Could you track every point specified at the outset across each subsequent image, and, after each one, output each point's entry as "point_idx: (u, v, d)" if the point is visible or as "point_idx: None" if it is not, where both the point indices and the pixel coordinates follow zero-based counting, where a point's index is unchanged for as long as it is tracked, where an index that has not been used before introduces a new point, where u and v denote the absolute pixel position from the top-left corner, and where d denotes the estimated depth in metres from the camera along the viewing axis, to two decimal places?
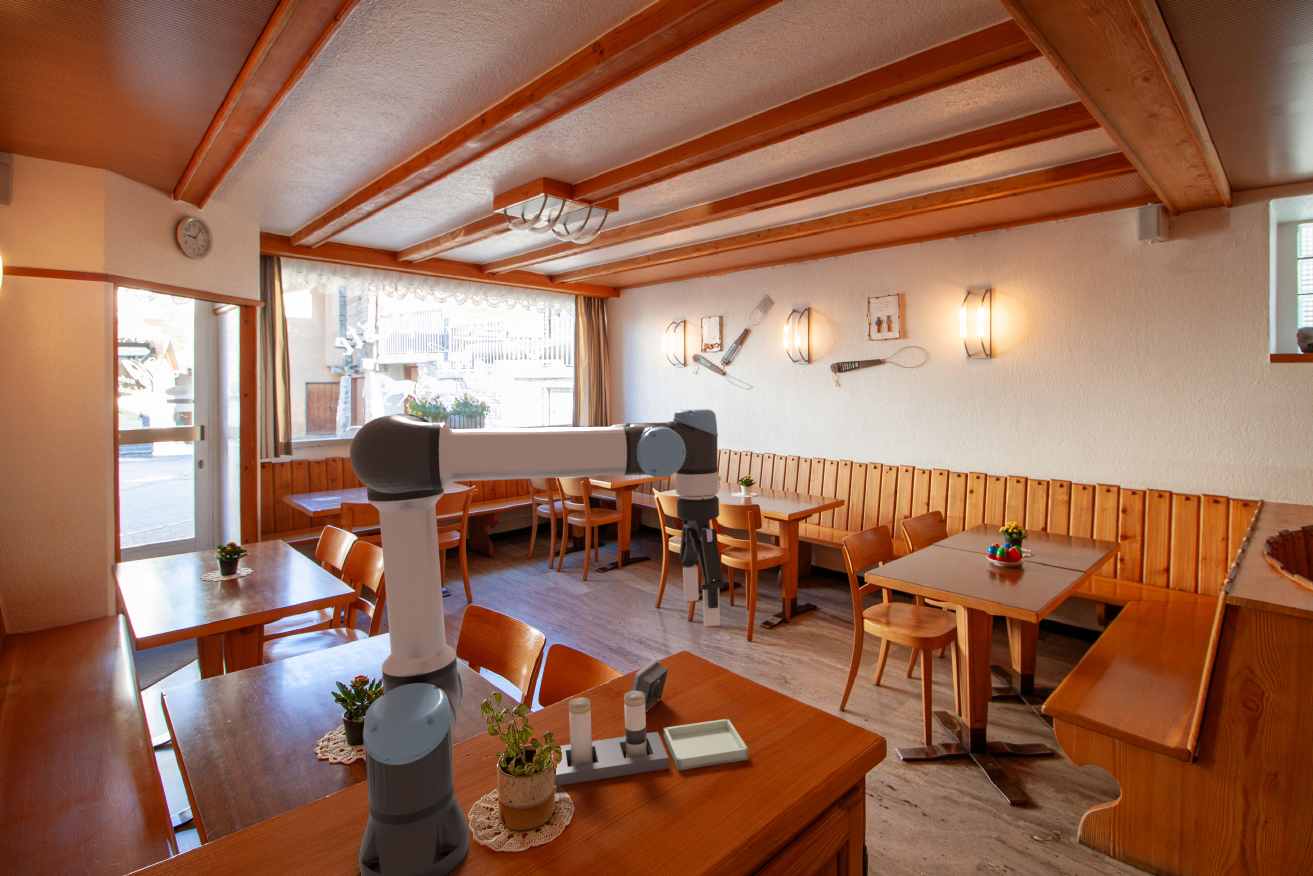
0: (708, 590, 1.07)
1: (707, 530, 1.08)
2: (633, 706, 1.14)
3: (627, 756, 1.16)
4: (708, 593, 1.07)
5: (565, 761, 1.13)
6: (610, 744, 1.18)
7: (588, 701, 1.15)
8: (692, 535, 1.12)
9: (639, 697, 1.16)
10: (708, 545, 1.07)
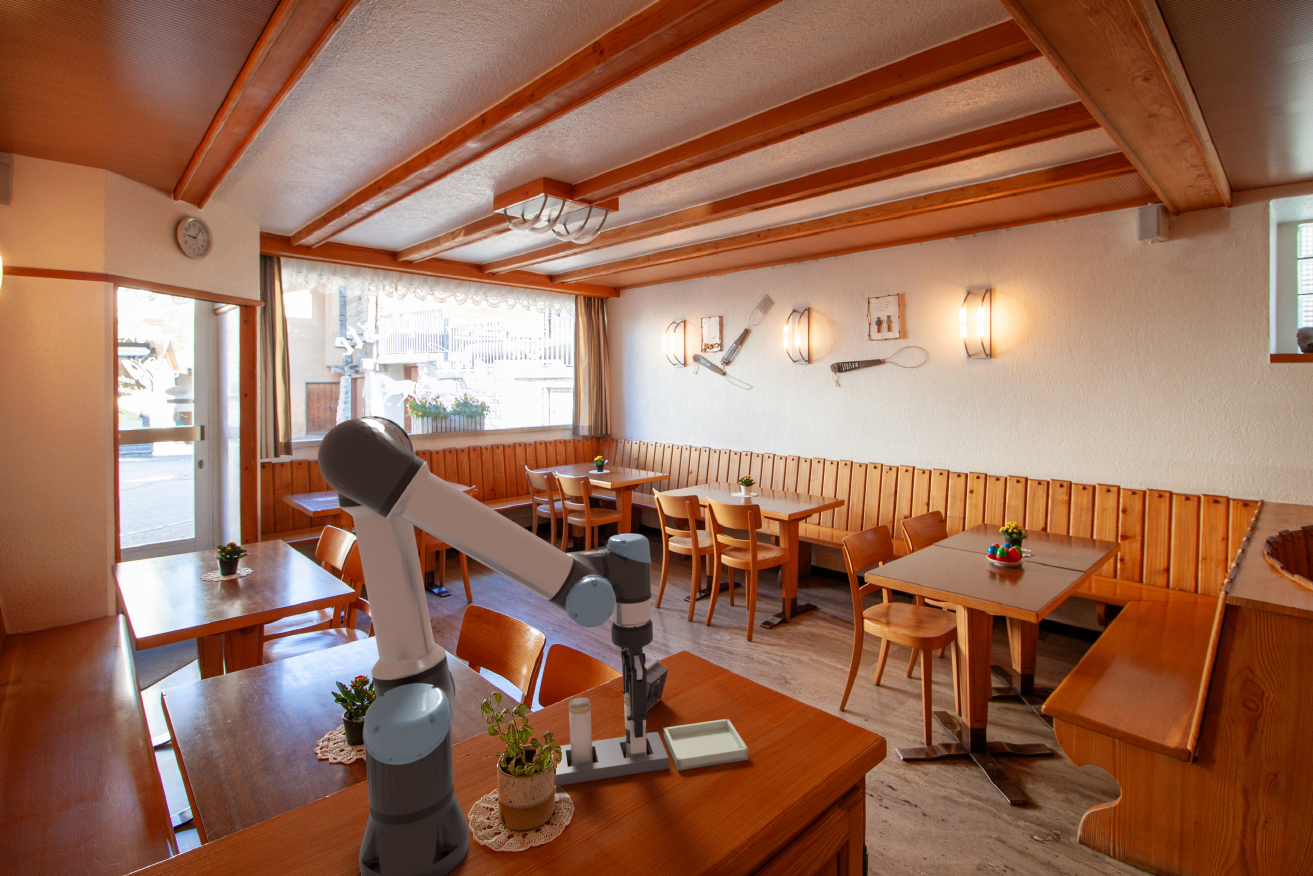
0: None
1: (638, 671, 1.09)
2: None
3: (627, 756, 1.16)
4: (634, 723, 1.13)
5: (565, 761, 1.13)
6: (610, 744, 1.18)
7: (588, 701, 1.14)
8: (625, 663, 1.14)
9: None
10: (637, 683, 1.10)
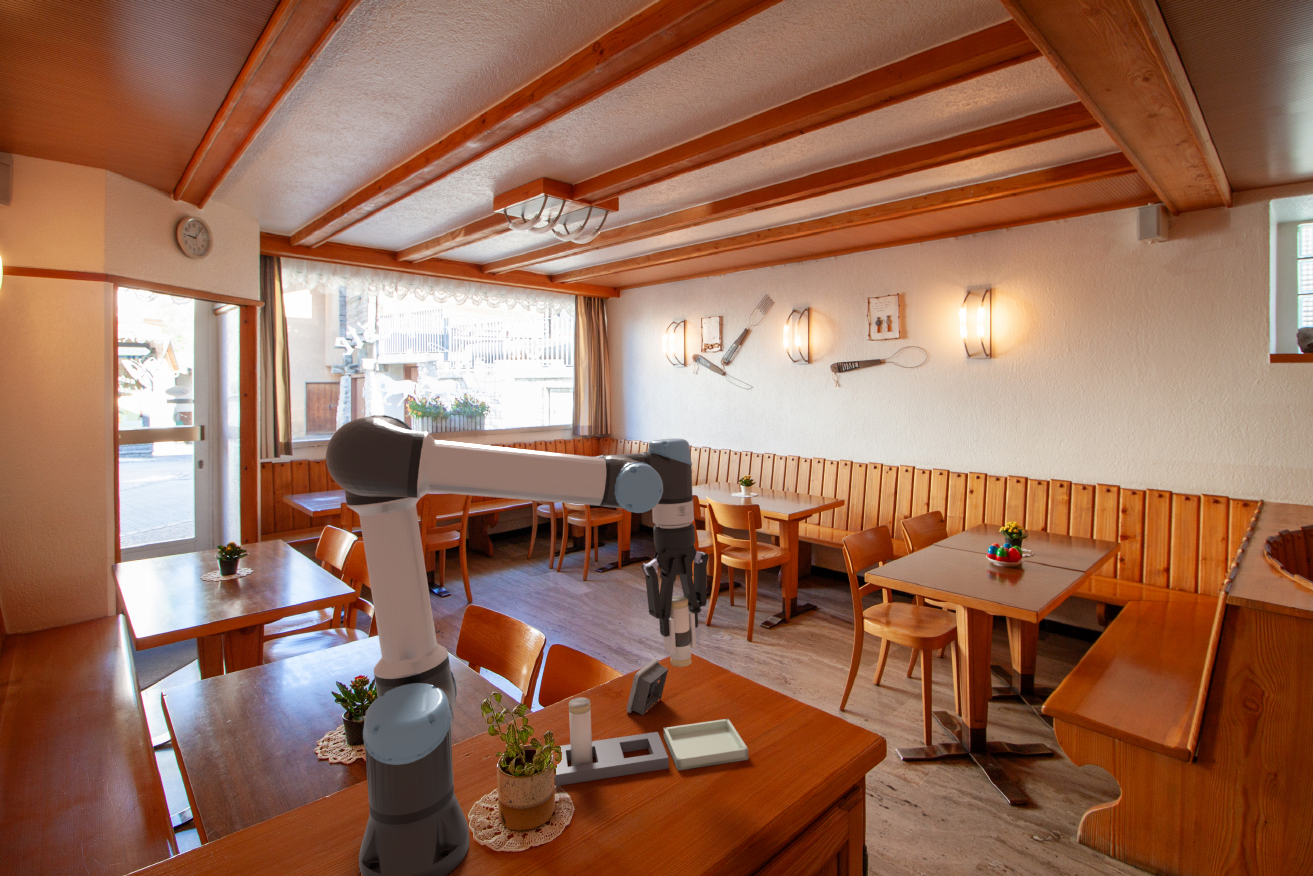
0: None
1: (644, 566, 1.13)
2: None
3: None
4: None
5: (565, 761, 1.13)
6: (610, 744, 1.18)
7: (588, 701, 1.14)
8: None
9: (676, 601, 1.16)
10: (647, 579, 1.14)
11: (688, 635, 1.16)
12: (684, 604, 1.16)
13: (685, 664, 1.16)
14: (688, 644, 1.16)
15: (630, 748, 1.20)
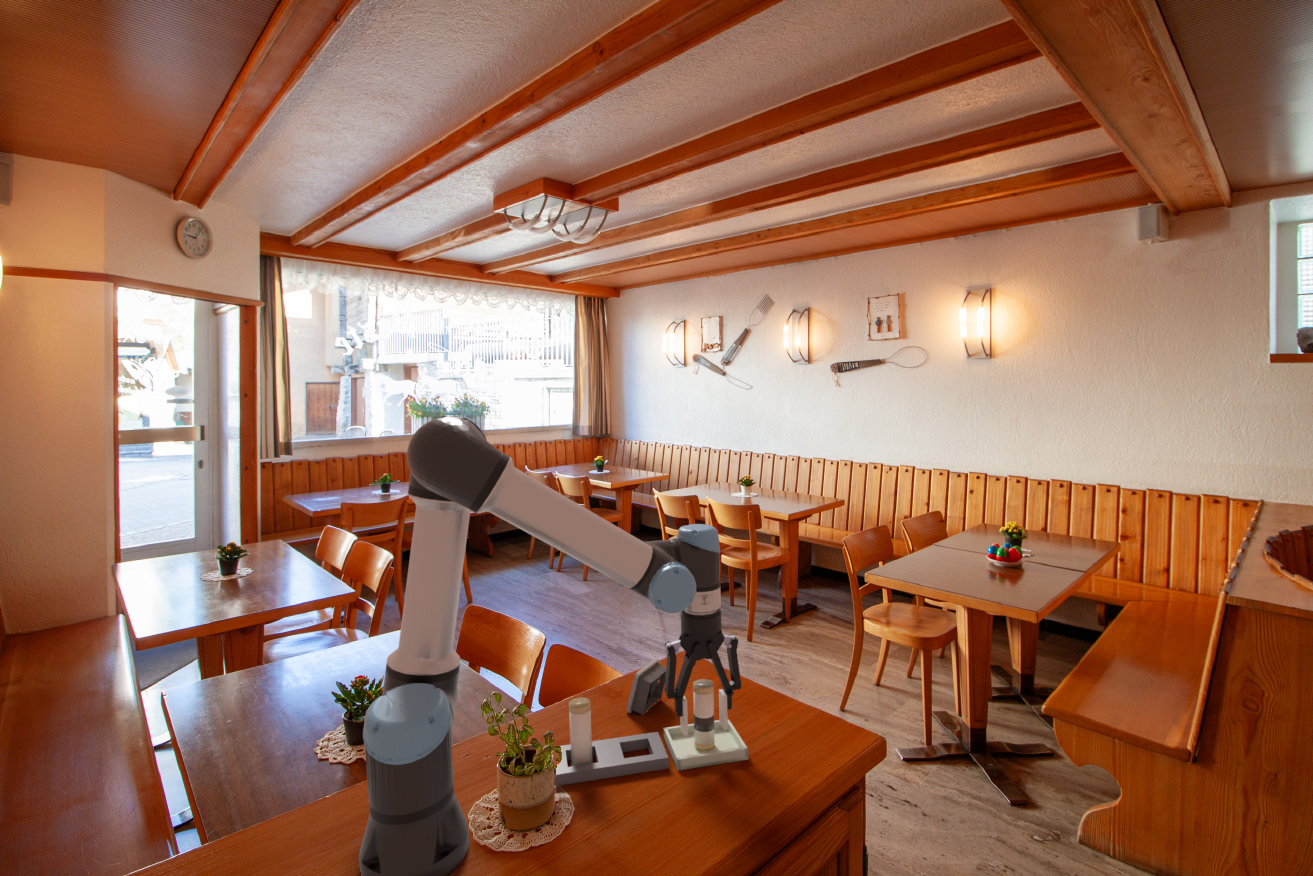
0: None
1: (666, 644, 1.17)
2: (693, 690, 1.19)
3: None
4: None
5: (565, 761, 1.13)
6: (610, 744, 1.18)
7: (588, 701, 1.14)
8: None
9: (699, 686, 1.18)
10: (668, 657, 1.18)
11: (710, 721, 1.18)
12: (707, 691, 1.17)
13: (706, 749, 1.18)
14: (710, 730, 1.18)
15: (630, 748, 1.20)
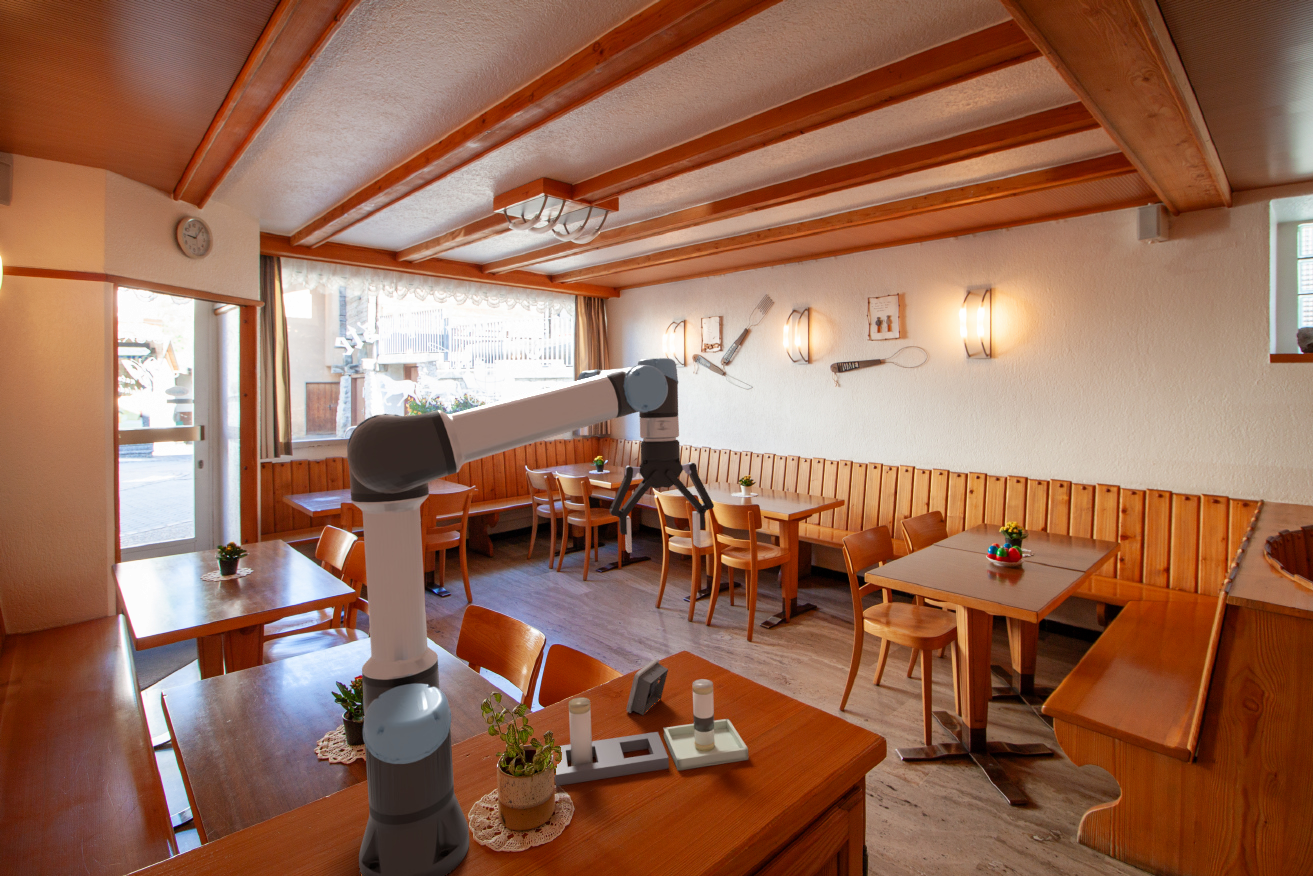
0: None
1: (627, 466, 1.22)
2: None
3: None
4: None
5: (565, 761, 1.13)
6: (610, 744, 1.18)
7: (588, 701, 1.15)
8: None
9: (699, 686, 1.18)
10: (624, 479, 1.22)
11: (710, 721, 1.18)
12: (706, 691, 1.17)
13: (706, 749, 1.18)
14: (710, 730, 1.18)
15: (630, 748, 1.20)
